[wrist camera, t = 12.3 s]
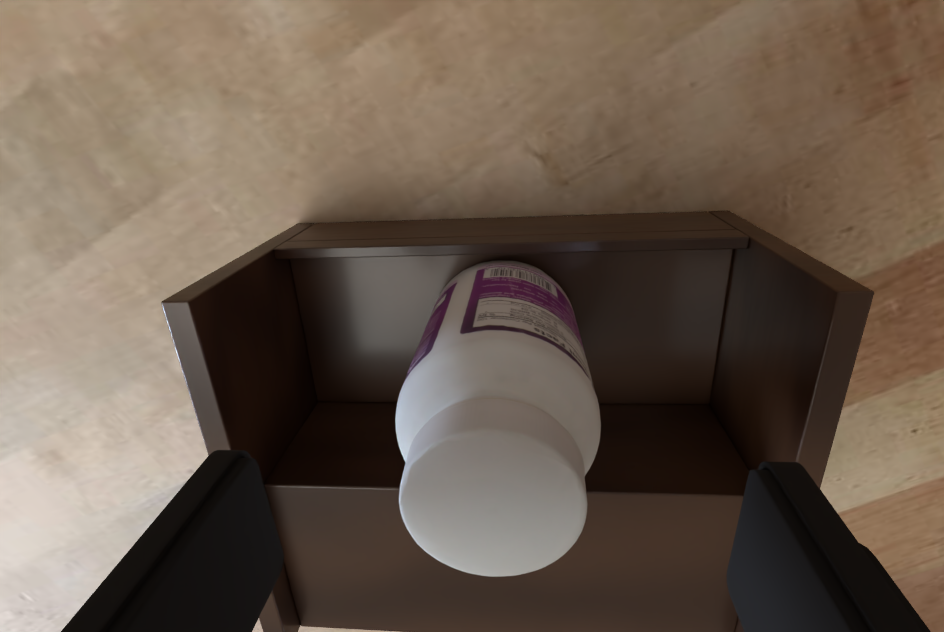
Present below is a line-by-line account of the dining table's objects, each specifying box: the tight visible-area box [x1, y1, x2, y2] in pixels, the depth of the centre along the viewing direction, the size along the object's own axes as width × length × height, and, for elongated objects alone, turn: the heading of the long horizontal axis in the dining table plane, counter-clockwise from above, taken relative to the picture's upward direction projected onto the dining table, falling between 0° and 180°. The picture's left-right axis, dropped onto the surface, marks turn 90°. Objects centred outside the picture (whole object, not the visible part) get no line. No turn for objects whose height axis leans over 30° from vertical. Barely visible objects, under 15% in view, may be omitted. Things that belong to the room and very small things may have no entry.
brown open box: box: [161, 211, 874, 632], centre depth 19 cm, size 14×18×9 cm
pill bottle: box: [395, 260, 601, 577], centre depth 15 cm, size 5×5×10 cm
